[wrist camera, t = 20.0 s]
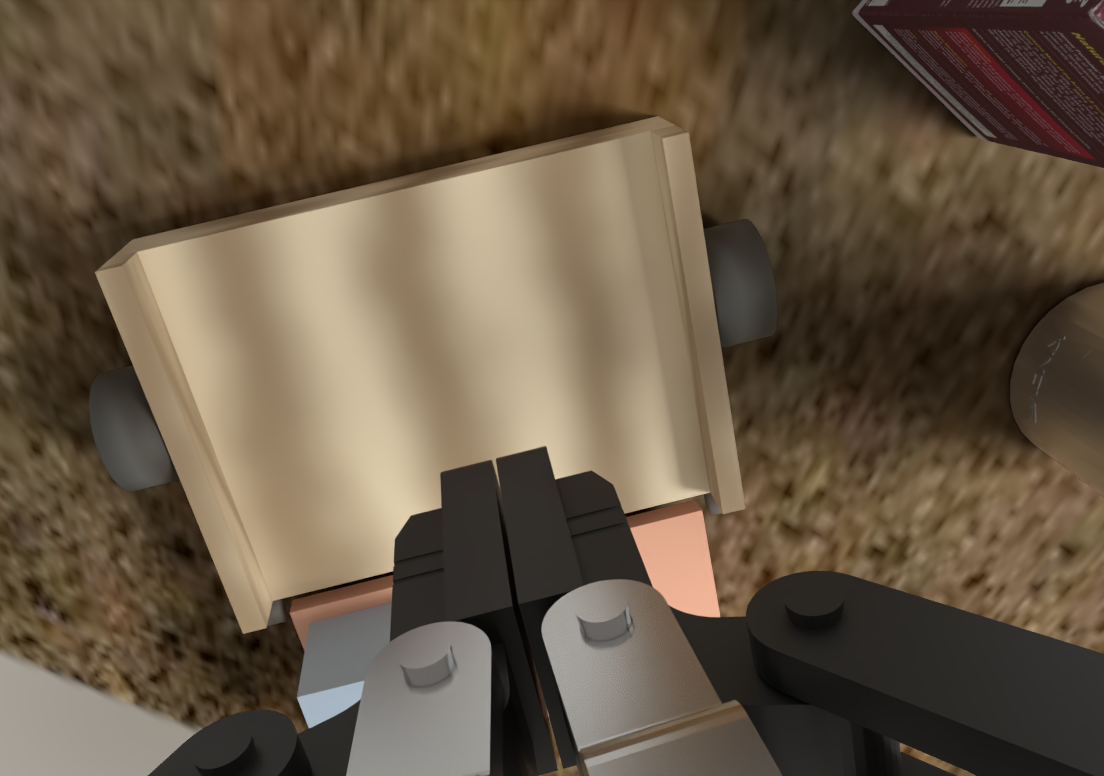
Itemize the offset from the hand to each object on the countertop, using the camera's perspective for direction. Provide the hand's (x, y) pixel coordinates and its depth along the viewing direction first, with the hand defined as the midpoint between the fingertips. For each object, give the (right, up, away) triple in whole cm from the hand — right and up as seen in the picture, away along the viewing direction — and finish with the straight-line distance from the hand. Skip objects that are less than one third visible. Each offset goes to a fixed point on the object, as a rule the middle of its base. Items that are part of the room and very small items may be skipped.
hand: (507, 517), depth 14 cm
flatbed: (-4, +3, +30) cm, 30 cm away
